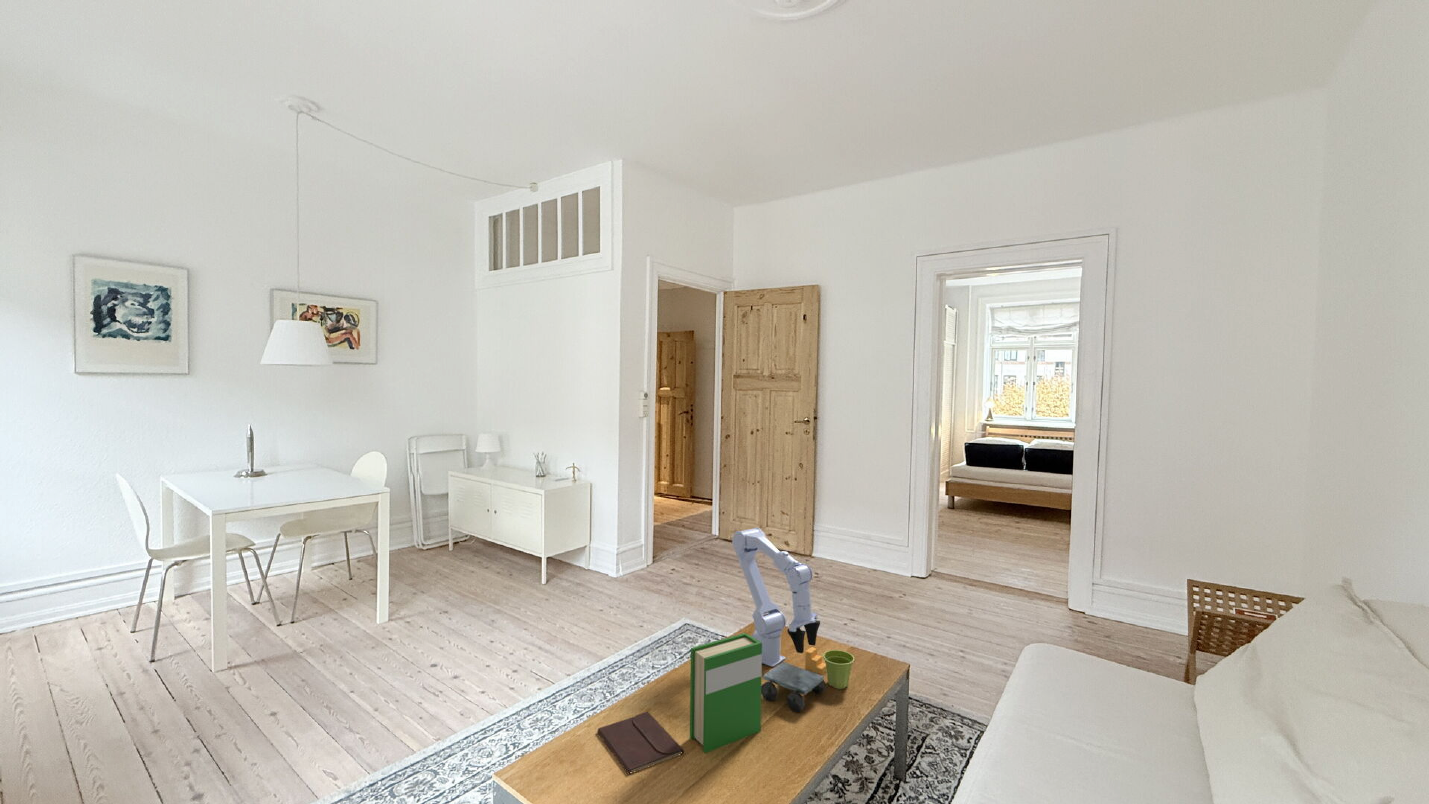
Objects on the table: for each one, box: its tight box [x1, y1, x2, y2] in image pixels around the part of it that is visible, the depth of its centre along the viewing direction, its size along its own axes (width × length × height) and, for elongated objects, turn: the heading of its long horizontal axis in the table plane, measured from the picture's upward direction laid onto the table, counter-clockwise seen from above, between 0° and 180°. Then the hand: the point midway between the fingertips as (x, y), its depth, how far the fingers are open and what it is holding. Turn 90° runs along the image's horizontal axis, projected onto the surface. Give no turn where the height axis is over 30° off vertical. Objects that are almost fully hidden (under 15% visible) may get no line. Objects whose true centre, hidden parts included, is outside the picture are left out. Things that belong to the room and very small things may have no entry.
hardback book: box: [689, 632, 763, 754], centre depth 156 cm, size 18×7×24 cm, turn 124°
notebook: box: [597, 711, 685, 774], centre depth 153 cm, size 15×20×2 cm
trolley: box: [761, 661, 827, 713], centre depth 176 cm, size 14×14×6 cm
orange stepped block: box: [804, 646, 827, 676], centre depth 193 cm, size 6×4×6 cm, turn 52°
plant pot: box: [822, 649, 855, 690], centre depth 183 cm, size 9×9×9 cm
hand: (806, 648), depth 186 cm, fingers open, 7 cm apart
